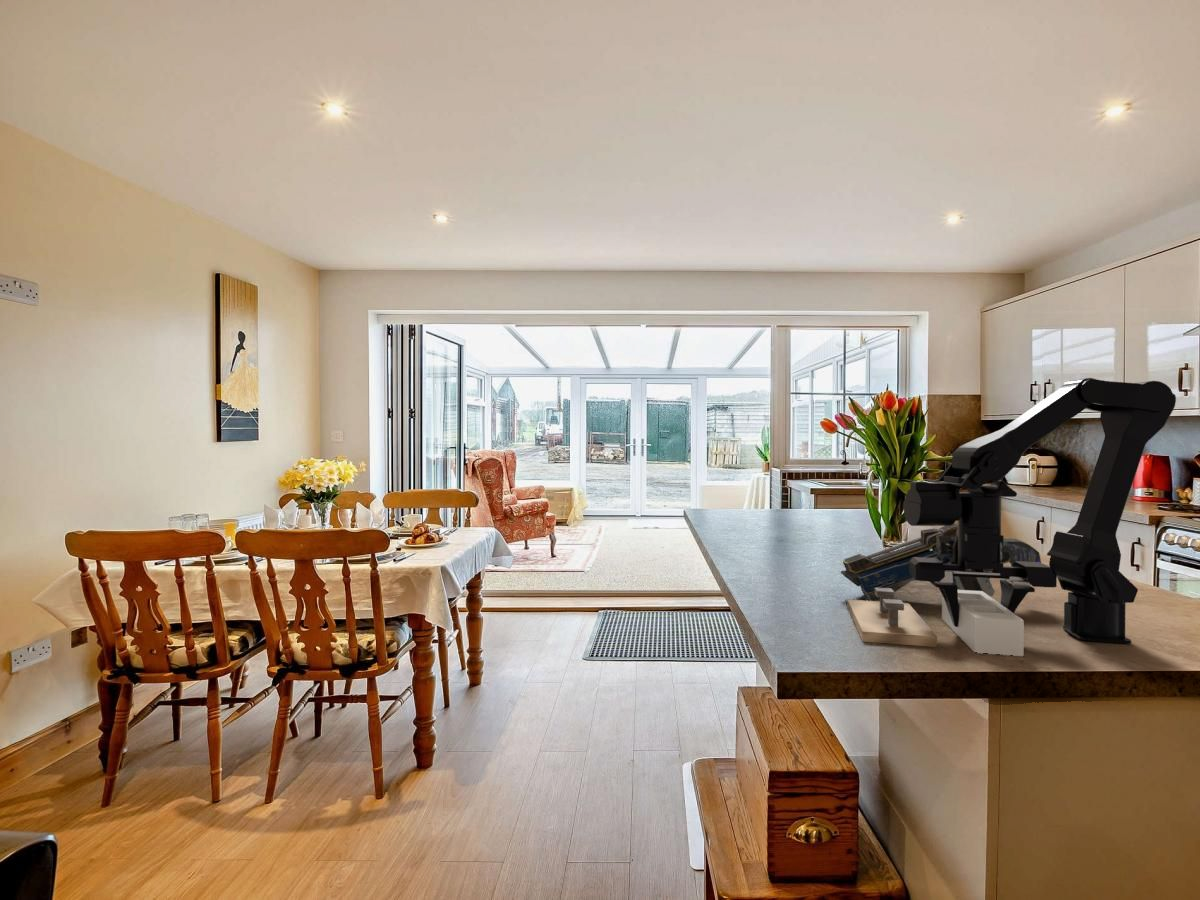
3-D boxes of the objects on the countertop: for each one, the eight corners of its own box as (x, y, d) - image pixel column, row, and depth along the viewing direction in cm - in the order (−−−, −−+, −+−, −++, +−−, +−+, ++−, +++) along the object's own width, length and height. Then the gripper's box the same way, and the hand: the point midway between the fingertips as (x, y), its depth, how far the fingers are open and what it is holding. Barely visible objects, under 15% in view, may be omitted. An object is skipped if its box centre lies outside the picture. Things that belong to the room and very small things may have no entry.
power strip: (941, 618, 107) (942, 588, 107) (982, 621, 105) (982, 591, 105) (974, 652, 89) (975, 617, 89) (1023, 656, 88) (1023, 620, 88)
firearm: (1057, 581, 110) (1021, 500, 111) (870, 640, 117) (838, 564, 118) (1036, 571, 118) (1003, 496, 119) (862, 628, 125) (832, 556, 126)
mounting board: (908, 611, 111) (908, 582, 111) (936, 646, 92) (936, 611, 92) (847, 607, 114) (847, 579, 114) (862, 641, 95) (862, 607, 94)
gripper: (1028, 521, 102) (1027, 618, 103) (902, 518, 107) (901, 610, 107) (1058, 530, 92) (1057, 638, 92) (916, 526, 96) (916, 629, 97)
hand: (978, 627), depth 97 cm, fingers closed on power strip, 6 cm apart
